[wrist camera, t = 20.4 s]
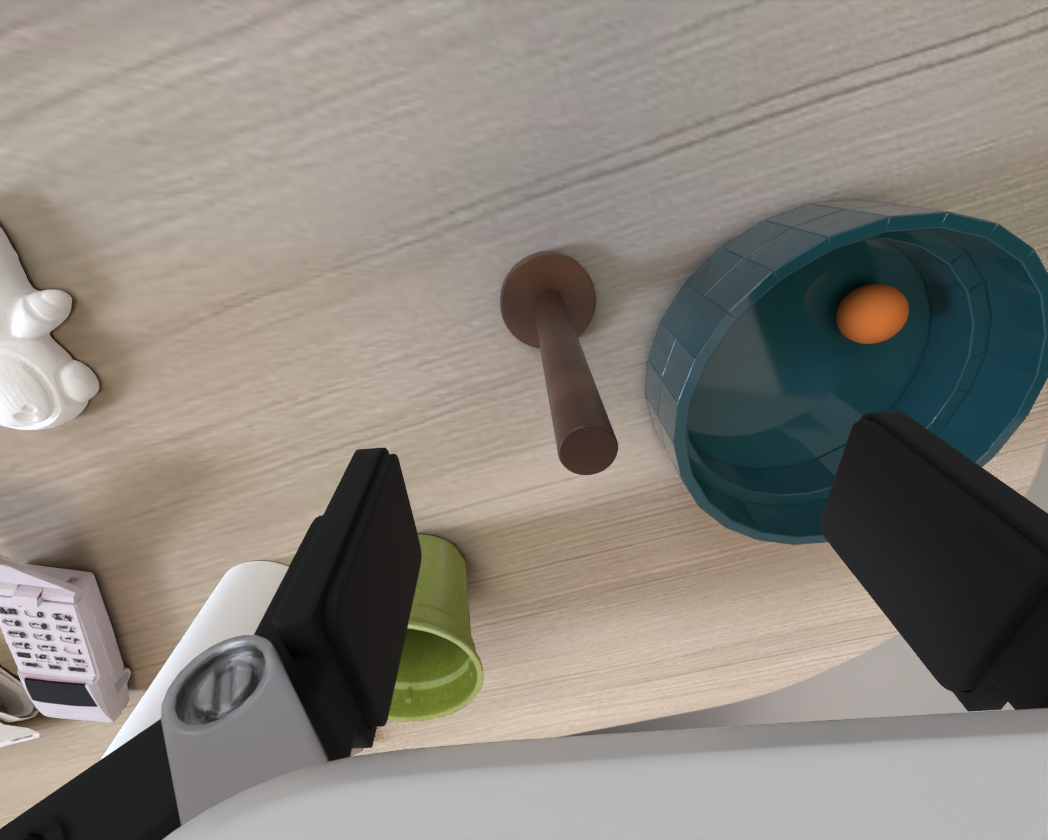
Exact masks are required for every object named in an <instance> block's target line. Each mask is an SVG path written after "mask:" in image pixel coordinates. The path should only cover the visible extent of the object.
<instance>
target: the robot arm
mask: <svg viewBox="0 0 1048 840" xmlns="http://www.w3.org/2000/svg"><path fill="white" fill-rule="evenodd" d="M820 525H821V531H822V533H823V535H824V537H825V538H826V540H827V541H828V542H829V544H830V545H831V546H832V547H833V549H834V550H835V551H836V552H837V554H838V555H839V556H840V558H841V559H842V560H843V561H844V563H845V564H846V565H847V567H848V568H849V569H850V570H851V572H852V573H853V574H854V575H855V577H856V578H857V579H858V581H859V582H860V583H861V584H862V586H863V587H864V588H865V589H866V591H867V592H868V593H869V595H870V596H871V597H872V598H873V600H874V601H875V602H876V604H877V605H878V606H879V607H880V609H881V610H882V611H883V612H884V614H885V615H886V616H887V618H888V619H889V620H890V621H891V623H892V624H893V625H894V626H895V628H896V629H897V630H898V632H899V633H900V634H901V635H902V636H903V638H904V639H905V640H906V642H907V643H908V644H909V646H910V647H911V648H912V649H913V651H914V652H915V653H916V655H917V656H918V657H919V658H920V660H921V661H922V662H923V663H924V665H925V666H926V667H927V669H928V670H929V671H930V672H931V674H932V675H933V676H934V677H935V679H936V680H937V681H938V682H939V683H940V684H941V685H942V686H943V687H944V688H946V689H947V690H950V691H952V692H953V693H954V694H955V695H956V697H957V698H958V699H959V701H960V702H961V703H962V704H963V706H964V707H965V708H966V709H967V711H983V710H999V709H1002V708H1003V706H1004V705H1005V704H1006V703H1007V702H1009V703H1010V704H1011V705H1012V707H1013V708H1014V709H1015V710H1005V711H987V712H969V713H952V714H951V713H950V714H932V715H915V716H898V717H897V716H895V717H879V718H862V719H845V720H827V721H810V722H794V723H777V724H761V725H745V726H728V727H711V728H695V729H680V730H663V731H649V732H633V733H619V734H603V735H589V736H588V735H587V736H572V737H557V738H542V739H527V740H511V741H499V742H487V743H476V744H464V745H452V746H440V747H428V748H416V749H404V750H397V751H390V752H382V753H375V754H368V755H360V756H353V757H350V755H351V751H352V749H354V748H371V747H372V745H373V741H374V737H375V732H376V728H377V726H384V725H385V724H386V722H387V720H388V716H389V711H390V707H391V702H392V697H393V693H394V688H395V683H396V679H397V674H398V669H399V665H400V660H401V655H402V651H403V646H404V641H405V637H406V632H407V627H408V623H409V618H410V613H411V609H412V604H413V599H414V594H415V590H416V585H417V580H418V576H419V571H420V566H421V558H422V554H421V546H420V542H419V538H418V534H417V530H416V526H415V522H414V518H413V514H412V510H411V506H410V502H409V498H408V495H407V491H406V487H405V483H404V479H403V475H402V471H401V467H400V463H399V459H398V457H397V455H396V454H389V452H388V450H387V449H386V448H373V449H359V450H356V452H355V453H354V455H353V457H352V459H351V461H350V463H349V465H348V467H347V469H346V471H345V473H344V475H343V477H342V479H341V481H340V483H339V485H338V487H337V489H336V491H335V493H334V495H333V497H332V499H331V501H330V503H329V505H328V507H327V509H326V511H325V513H324V515H322V516H319V517H317V518H315V520H314V521H313V522H312V524H311V526H310V528H309V529H308V531H307V533H306V535H305V537H304V539H303V541H302V543H301V545H300V547H299V549H298V551H297V553H296V554H295V556H294V558H293V560H292V562H291V564H290V566H289V568H288V570H287V572H286V574H285V576H284V578H283V579H282V581H281V583H280V585H279V587H278V589H277V591H276V593H275V595H274V597H273V599H272V601H271V603H270V604H269V606H268V608H267V610H266V612H265V614H264V616H263V618H262V620H261V622H260V624H259V626H258V628H257V629H256V631H255V633H254V635H241V636H237V637H233V638H229V639H226V640H224V641H222V642H220V643H218V644H215V645H213V646H211V647H209V648H208V649H207V650H205V651H204V652H202V653H201V654H199V655H198V656H197V657H195V658H194V659H193V660H192V661H191V662H190V663H189V664H188V665H187V666H186V667H184V668H183V669H182V670H181V671H180V672H179V674H178V675H177V676H176V678H175V679H174V681H173V682H172V684H171V685H170V686H169V688H168V690H167V692H166V695H165V697H164V700H163V702H162V705H161V719H159V720H158V721H157V722H155V723H154V724H152V725H151V726H149V727H148V728H146V729H145V730H143V731H142V732H141V733H139V734H138V735H136V736H135V737H133V738H132V739H130V740H129V741H127V742H126V743H125V744H123V745H122V746H120V747H119V748H117V749H116V750H114V751H113V752H111V753H110V754H109V755H107V756H106V757H104V758H103V759H101V760H100V761H98V762H97V763H95V764H94V765H93V766H91V767H90V768H88V769H87V770H85V771H84V772H82V773H81V774H79V775H78V776H77V777H75V778H74V779H72V780H71V781H69V782H68V783H66V784H65V785H63V786H62V787H61V788H59V789H58V790H56V791H55V792H53V793H52V794H50V795H49V796H47V797H46V798H45V799H43V800H42V801H40V802H39V803H37V804H36V805H34V806H33V807H31V808H30V809H29V810H27V811H26V812H24V813H23V814H21V815H20V816H18V817H17V818H15V819H14V820H13V821H11V822H10V823H8V824H7V825H5V826H4V827H2V828H1V829H0V840H1048V514H1047V513H1046V512H1045V511H1043V510H1042V509H1040V508H1039V507H1037V506H1036V505H1035V504H1033V503H1032V502H1030V501H1029V500H1027V499H1026V498H1025V497H1023V496H1022V495H1020V494H1019V493H1017V492H1016V491H1015V490H1013V489H1012V488H1010V487H1009V486H1007V485H1006V484H1005V483H1003V482H1002V481H1000V480H999V479H997V478H996V477H995V476H993V475H992V474H990V473H989V472H988V471H986V470H985V469H983V468H982V467H980V466H979V465H978V464H976V463H975V462H973V461H972V460H970V459H969V458H968V457H966V456H965V455H963V454H962V453H960V452H959V451H958V450H956V449H955V448H953V447H952V446H950V445H949V444H948V443H946V442H945V441H943V440H942V439H940V438H939V437H938V436H936V435H935V434H933V433H932V432H930V431H929V430H928V429H926V428H925V427H923V426H922V425H920V424H919V423H918V422H916V421H915V420H913V419H912V418H910V417H909V416H908V415H906V414H904V413H902V412H900V411H891V412H877V413H867V414H865V415H863V416H862V417H861V418H860V420H859V421H857V422H855V423H854V424H853V426H852V428H851V431H850V434H849V437H848V440H847V443H846V446H845V449H844V452H843V455H842V458H841V461H840V464H839V467H838V470H837V473H836V476H835V479H834V482H833V485H832V488H831V490H830V493H829V496H828V499H827V502H826V505H825V508H824V511H823V514H822V517H821V522H820Z"/></svg>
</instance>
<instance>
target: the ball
mask: <svg viewBox="0 0 1048 840" xmlns="http://www.w3.org/2000/svg"><path fill="white" fill-rule="evenodd" d="M908 314H909V306H908V302H907V300H906V298H905V296H904V295H903V294H902V293H901V292H900V291H899V290H897V289H896V288H894V287H892V286H889V285H885V284H869V285H865V286H862V287H859V288H857V289H855V290H853V291H852V292H850V293H849V294H848V295H847V296H846V297H845V298H844V299H843V300H842V301H841V303H840V305H839V307H838V309H837V313H836V323H837V326H838V328H839V330H840V332H841V333H842V334H843V335H844V336H845V337H846V338H848V339H850V340H852V341H854V342H857V343H862V344H874V343H879V342H882V341H885V340H887V339H889V338H891V337H893V336H894V335H895V334H897V333H898V332H899V331H900V330H901V329H902V327H903V326H904V324H905V323H906V321H907V318H908Z"/></svg>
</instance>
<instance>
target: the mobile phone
mask: <svg viewBox="0 0 1048 840" xmlns="http://www.w3.org/2000/svg"><path fill="white" fill-rule="evenodd" d="M0 627H1V629H2V632H3V634H4V637H5V640H6V642H7V644H8V646H9V649H10V651H11V653H12V656H13V658H14V660H15V662H16V665H17V667H18V676H19V678H20V680H21V682H22V684H23V686H24V688H25V691H26V693H27V695H28V696H29V698H30V700H31V701H32V703H33V704H34V705H35V707H36V708H37V709H38V710H39V711H40V712H41V713H42V714H43V715H44V716H48V717H54V718H65V719H76V720H87V721H97V722H108V723H113V722H114V721H115V720H116V719H117V718H118V717H119V716H120V714H121V712H122V710H123V709H124V708H125V707H126V706H127V704H128V702H129V693H128V685H127V682H128V680H129V678H130V675H131V671H130V669H129V668H126V667H124V664H123V661H122V658H121V655H120V651H119V648H118V645H117V641H116V638H115V635H114V632H113V628H112V625H111V622H110V619H109V617H108V614H107V611H106V608H105V605H104V602H103V599H102V596H101V593H100V590H99V588H98V585H97V582H96V579H95V576H94V574H93V573H92V572H85V571H77V570H70V569H62V568H54V567H46V566H38V565H30V564H21V563H19V562H17V561H15V560H12V559H10V558H8V557H5V556H3V555H1V554H0Z"/></svg>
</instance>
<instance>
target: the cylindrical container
mask: <svg viewBox="0 0 1048 840" xmlns="http://www.w3.org/2000/svg"><path fill="white" fill-rule="evenodd" d="M288 568H289V566H286V565H283V564H280V563H275V562H270V561H250V562H245V563H241V564H239V565H236V566H234V567H233V568H231V569H230V570H228V571H227V573H226V574H225V575H224V576H223V578H222V579H221V581H220V582H219V584H218V585H217V587H216V588H215V590H214V591H213V593H212V594H211V596H210V597H209V599H208V600H207V602H206V603H205V605H204V606H203V608H202V609H201V611H200V612H199V614H198V615H197V617H196V618H195V620H194V621H193V623H192V624H191V626H190V627H189V629H188V630H187V631H186V633H185V634H184V636H183V637H182V639H181V640H180V642H179V643H178V645H177V646H176V648H175V649H174V651H173V652H172V654H171V655H170V657H169V658H168V660H167V661H166V663H165V664H164V666H163V667H162V669H161V670H160V672H159V673H158V675H157V676H156V678H155V679H154V681H153V682H152V684H151V685H150V687H149V688H148V690H147V691H146V693H145V694H144V696H143V697H142V699H141V700H140V702H139V703H138V705H137V706H136V708H135V709H134V711H133V712H132V713H131V715H130V716H129V718H128V719H127V721H126V722H125V724H124V725H123V727H122V728H121V730H120V731H119V733H118V734H117V736H116V737H115V739H114V740H113V742H112V743H111V745H110V746H109V748H108V749H107V751H106V752H105V754H104V755H103V757H102V758H101V759H103V758H104V757H106V756H107V755H109V754H110V753H111V752H113V751H114V750H116V749H117V748H119V747H120V746H122V745H123V744H125V743H126V742H127V741H129V740H130V739H132V738H133V737H135V736H136V735H138V734H139V733H141V732H142V731H143V730H145V729H146V728H148V727H149V726H151V725H152V724H154V723H155V722H157V721H158V720H159V719H161V705H162V702H163V700H164V697H165V695H166V692H167V690H168V688H169V686H170V685H171V684H172V682H173V681H174V679H175V678H176V676H177V675H178V674H179V672H180V671H181V670H182V669H183V668H184V667H186V666H187V665H188V664H189V663H190V662H191V661H192V660H193V659H194V658H195V657H197V656H198V655H199V654H201V653H202V652H204V651H205V650H207V649H208V648H209V647H211V646H213V645H215V644H218V643H220V642H222V641H224V640H226V639H229V638H233V637H237V636H241V635H254V633H255V631H256V629H257V628H258V626H259V624H260V622H261V620H262V618H263V616H264V614H265V612H266V610H267V608H268V606H269V604H270V603H271V601H272V599H273V597H274V595H275V593H276V591H277V589H278V587H279V585H280V583H281V581H282V579H283V578H284V576H285V574H286V572H287V570H288Z"/></svg>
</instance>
